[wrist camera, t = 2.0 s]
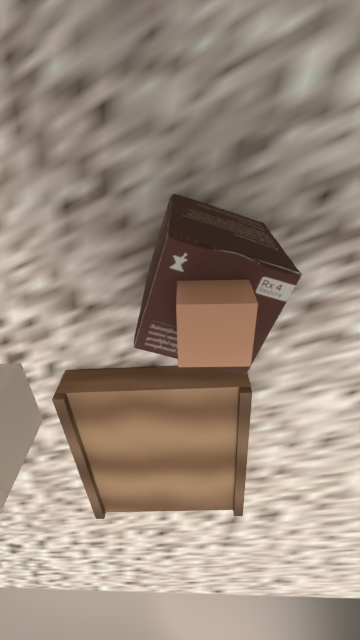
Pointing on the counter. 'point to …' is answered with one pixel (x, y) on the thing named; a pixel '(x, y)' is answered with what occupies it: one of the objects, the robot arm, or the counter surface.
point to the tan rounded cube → (215, 323)
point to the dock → (158, 437)
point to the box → (211, 271)
